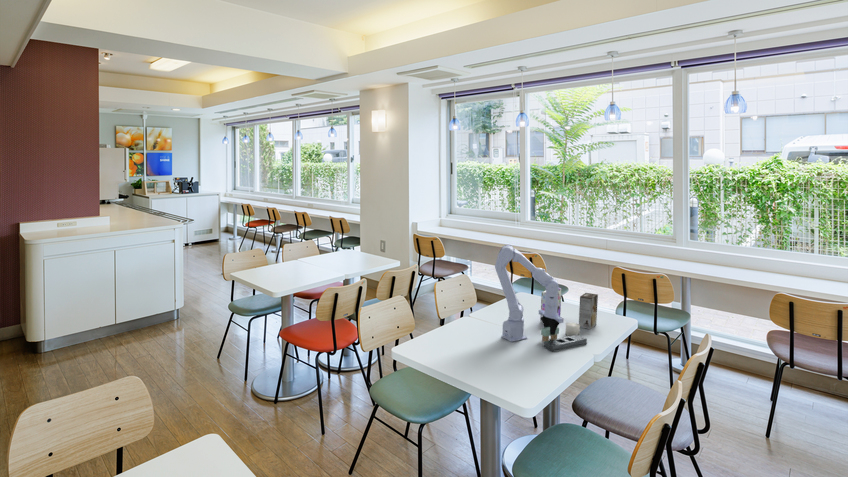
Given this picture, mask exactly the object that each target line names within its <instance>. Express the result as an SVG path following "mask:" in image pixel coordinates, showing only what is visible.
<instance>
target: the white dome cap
mask: <svg viewBox="0 0 848 477" xmlns="http://www.w3.org/2000/svg"><path fill="white" fill-rule="evenodd" d="M580 328H581V327H580V325H579V323H576V322H566V323H565V331H564V332H565V336H566V337H568V336H573V335H579V336H580V333H581V332H580Z"/></svg>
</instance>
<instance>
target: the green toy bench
mask: <svg viewBox="0 0 848 477" xmlns="http://www.w3.org/2000/svg"><path fill="white" fill-rule="evenodd" d="M559 334H560V327H559V326H558V327H557V329H556V332H555V335H550V327H546V328H544V327H542V328H541V329H540V335H541V337H542V339H541V341H542V342H544V341H549V340H554V339H558V335H559Z"/></svg>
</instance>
